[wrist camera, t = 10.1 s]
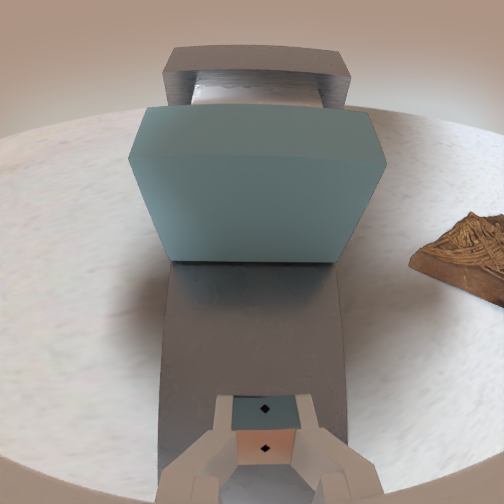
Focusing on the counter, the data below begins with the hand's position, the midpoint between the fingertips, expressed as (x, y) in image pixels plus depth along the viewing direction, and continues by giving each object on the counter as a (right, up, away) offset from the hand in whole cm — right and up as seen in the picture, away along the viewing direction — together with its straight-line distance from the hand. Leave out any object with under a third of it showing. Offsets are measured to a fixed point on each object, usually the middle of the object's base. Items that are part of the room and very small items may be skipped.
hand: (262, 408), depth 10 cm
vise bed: (0, +2, +8) cm, 9 cm away
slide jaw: (0, +6, +8) cm, 10 cm away
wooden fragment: (+23, +3, +10) cm, 25 cm away
